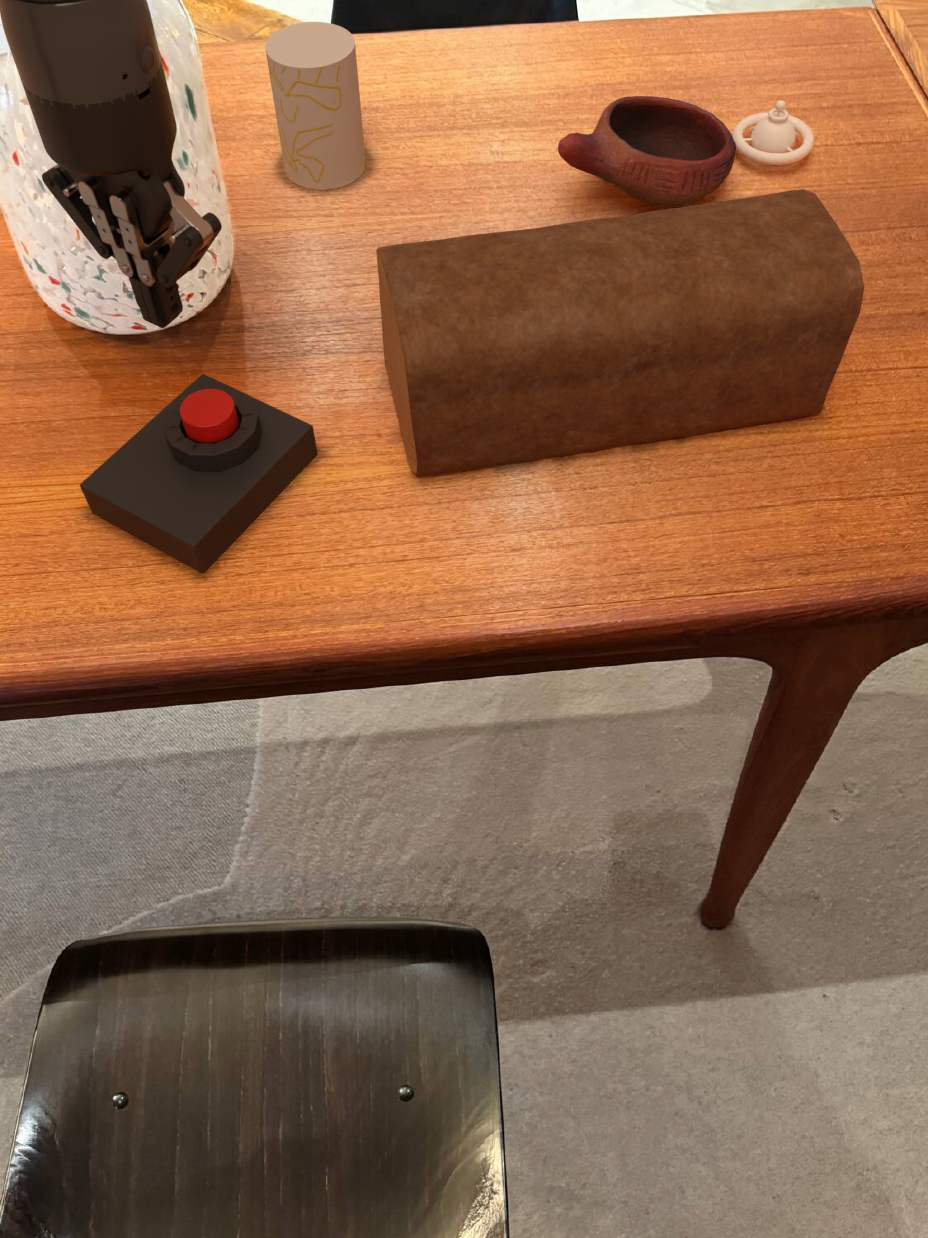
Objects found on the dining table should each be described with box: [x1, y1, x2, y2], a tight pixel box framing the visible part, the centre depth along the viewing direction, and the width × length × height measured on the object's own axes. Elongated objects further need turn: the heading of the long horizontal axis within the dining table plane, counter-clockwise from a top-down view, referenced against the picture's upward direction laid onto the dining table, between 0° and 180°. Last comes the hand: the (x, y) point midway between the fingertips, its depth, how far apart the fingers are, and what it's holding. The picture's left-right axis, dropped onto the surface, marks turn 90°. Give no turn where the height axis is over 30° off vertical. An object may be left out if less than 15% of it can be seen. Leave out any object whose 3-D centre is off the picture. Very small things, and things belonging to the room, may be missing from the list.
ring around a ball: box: [731, 99, 815, 166], centre depth 104 cm, size 8×6×8 cm
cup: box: [264, 21, 367, 191], centre depth 101 cm, size 8×8×12 cm
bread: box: [375, 188, 865, 478], centre depth 82 cm, size 14×34×14 cm, turn 102°
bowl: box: [557, 95, 737, 208], centre depth 99 cm, size 16×13×8 cm
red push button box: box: [79, 373, 319, 574], centre depth 80 cm, size 14×11×5 cm
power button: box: [180, 389, 238, 443], centre depth 79 cm, size 4×4×2 cm
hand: (163, 317), depth 71 cm, fingers closed
